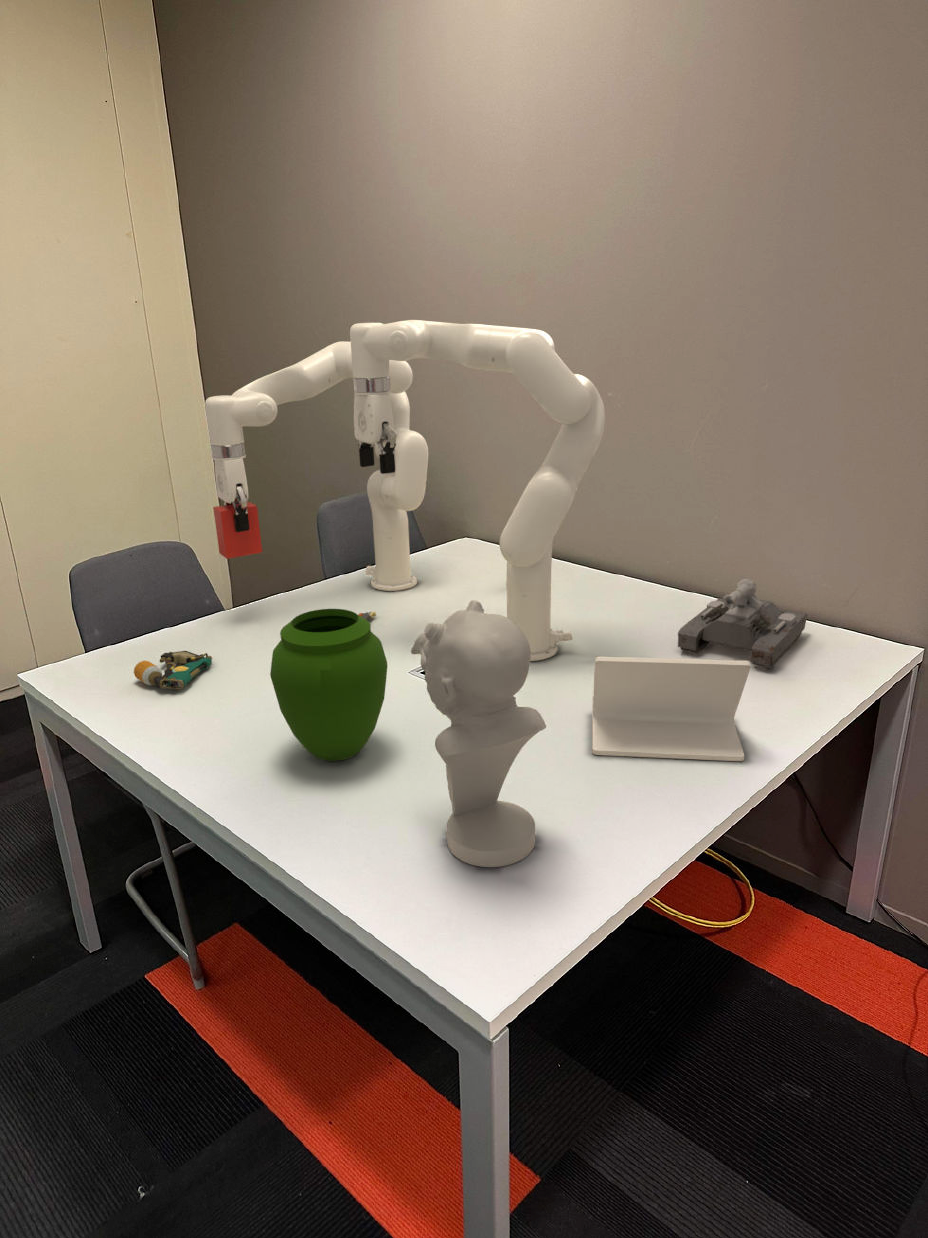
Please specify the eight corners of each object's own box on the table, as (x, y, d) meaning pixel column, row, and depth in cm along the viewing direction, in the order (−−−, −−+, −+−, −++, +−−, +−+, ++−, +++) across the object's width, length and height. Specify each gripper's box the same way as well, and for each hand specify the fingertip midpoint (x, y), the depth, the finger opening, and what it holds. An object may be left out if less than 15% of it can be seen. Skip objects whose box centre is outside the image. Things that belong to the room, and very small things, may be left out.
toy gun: (311, 634, 194) (352, 630, 192) (338, 611, 212) (376, 607, 210) (313, 645, 195) (354, 642, 193) (340, 621, 213) (378, 618, 211)
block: (219, 553, 204) (213, 506, 200) (254, 547, 208) (249, 501, 204) (226, 558, 200) (220, 511, 196) (262, 552, 204) (256, 505, 200)
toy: (718, 618, 203) (723, 557, 198) (805, 634, 192) (812, 570, 187) (676, 653, 184) (680, 587, 179) (769, 673, 173) (777, 604, 168)
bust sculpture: (481, 772, 140) (476, 569, 128) (565, 848, 120) (569, 617, 108) (392, 800, 134) (378, 588, 121) (465, 886, 114) (457, 642, 101)
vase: (415, 740, 151) (408, 611, 143) (343, 792, 136) (331, 651, 127) (331, 715, 161) (319, 593, 153) (256, 761, 146) (238, 628, 137)
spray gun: (177, 659, 191) (231, 671, 185) (120, 684, 176) (176, 698, 171) (176, 641, 190) (230, 653, 184) (118, 665, 175) (174, 678, 169)
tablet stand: (744, 761, 141) (754, 667, 135) (592, 754, 145) (595, 663, 139) (728, 711, 158) (736, 626, 152) (592, 707, 162) (594, 623, 156)
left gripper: (201, 448, 201) (212, 523, 207) (223, 458, 187) (234, 538, 193) (232, 444, 204) (242, 518, 211) (256, 454, 190) (265, 533, 197)
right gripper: (338, 384, 180) (344, 465, 186) (374, 390, 166) (379, 478, 172) (370, 382, 184) (375, 461, 190) (408, 387, 170) (412, 473, 176)
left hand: (238, 527), depth 202 cm, fingers closed on block, 5 cm apart
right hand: (377, 469), depth 181 cm, fingers open, 9 cm apart
